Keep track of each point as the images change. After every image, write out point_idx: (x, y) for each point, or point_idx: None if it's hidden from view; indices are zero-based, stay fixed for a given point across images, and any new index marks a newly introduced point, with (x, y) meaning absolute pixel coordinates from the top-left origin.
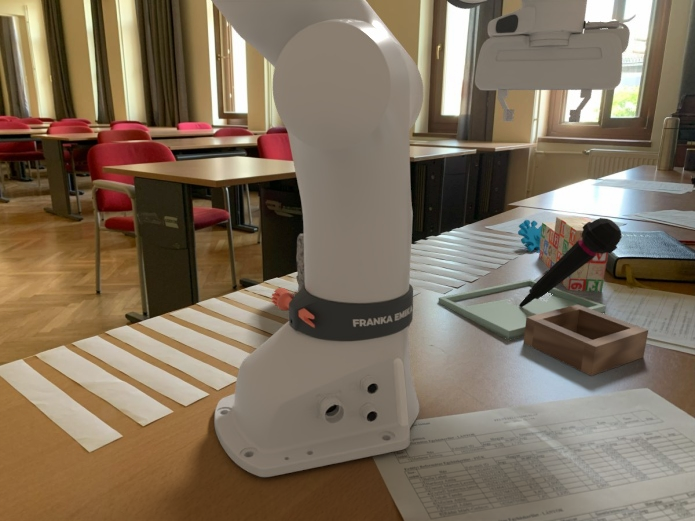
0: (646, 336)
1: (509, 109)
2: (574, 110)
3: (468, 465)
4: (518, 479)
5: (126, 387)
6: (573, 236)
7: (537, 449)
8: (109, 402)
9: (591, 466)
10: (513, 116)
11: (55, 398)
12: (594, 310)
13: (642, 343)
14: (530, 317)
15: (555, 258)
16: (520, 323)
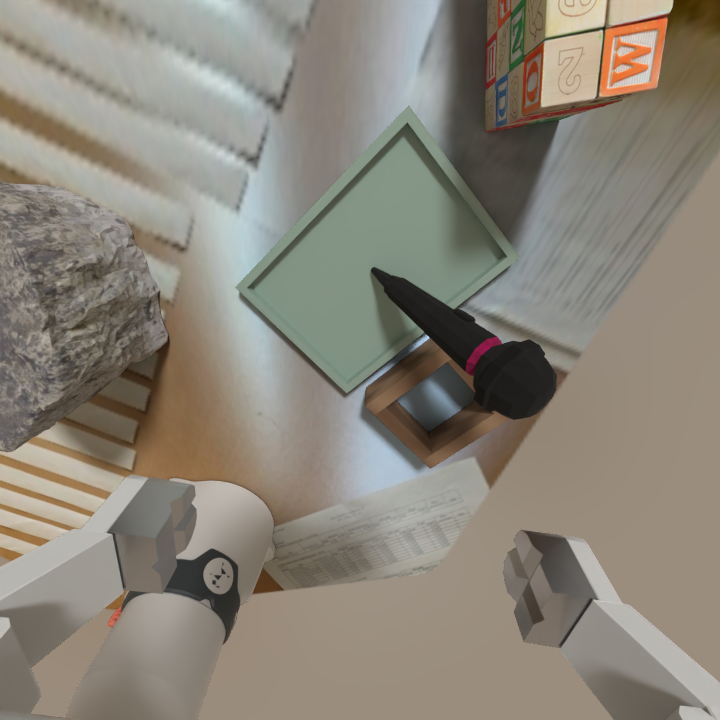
0: None
1: (136, 590)
2: (546, 642)
3: (315, 558)
4: (344, 564)
5: (46, 526)
6: (532, 91)
7: (359, 541)
8: None
9: (391, 549)
10: (179, 501)
11: (17, 544)
12: None
13: None
14: (370, 406)
15: None
16: (366, 341)
